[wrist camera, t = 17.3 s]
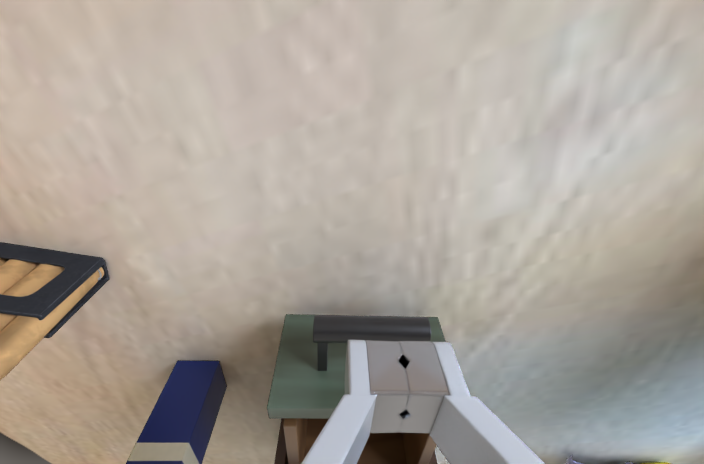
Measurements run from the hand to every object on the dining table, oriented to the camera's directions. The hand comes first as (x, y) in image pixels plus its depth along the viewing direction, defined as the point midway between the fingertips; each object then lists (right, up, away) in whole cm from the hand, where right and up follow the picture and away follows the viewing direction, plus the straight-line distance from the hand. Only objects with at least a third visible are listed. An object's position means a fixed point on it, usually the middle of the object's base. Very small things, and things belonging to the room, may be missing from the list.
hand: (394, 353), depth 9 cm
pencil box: (-15, -9, +19) cm, 26 cm away
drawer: (-1, -6, +16) cm, 17 cm away
